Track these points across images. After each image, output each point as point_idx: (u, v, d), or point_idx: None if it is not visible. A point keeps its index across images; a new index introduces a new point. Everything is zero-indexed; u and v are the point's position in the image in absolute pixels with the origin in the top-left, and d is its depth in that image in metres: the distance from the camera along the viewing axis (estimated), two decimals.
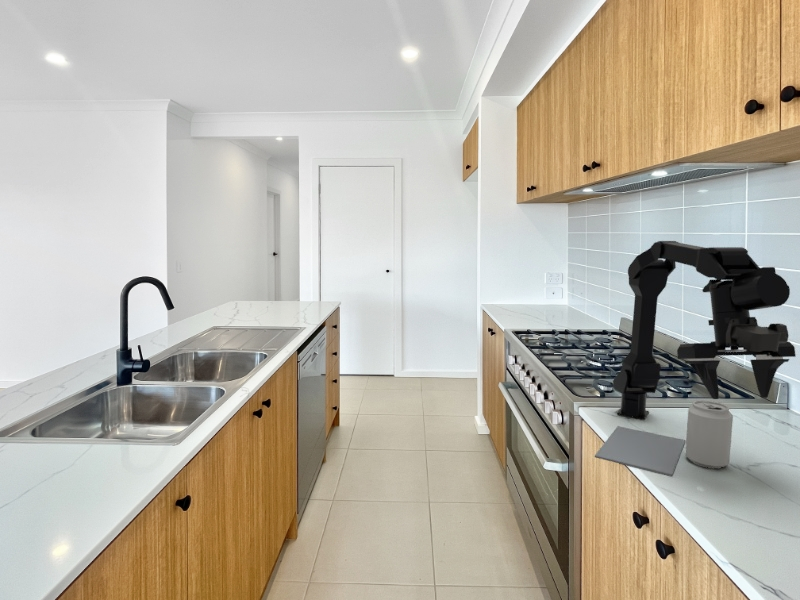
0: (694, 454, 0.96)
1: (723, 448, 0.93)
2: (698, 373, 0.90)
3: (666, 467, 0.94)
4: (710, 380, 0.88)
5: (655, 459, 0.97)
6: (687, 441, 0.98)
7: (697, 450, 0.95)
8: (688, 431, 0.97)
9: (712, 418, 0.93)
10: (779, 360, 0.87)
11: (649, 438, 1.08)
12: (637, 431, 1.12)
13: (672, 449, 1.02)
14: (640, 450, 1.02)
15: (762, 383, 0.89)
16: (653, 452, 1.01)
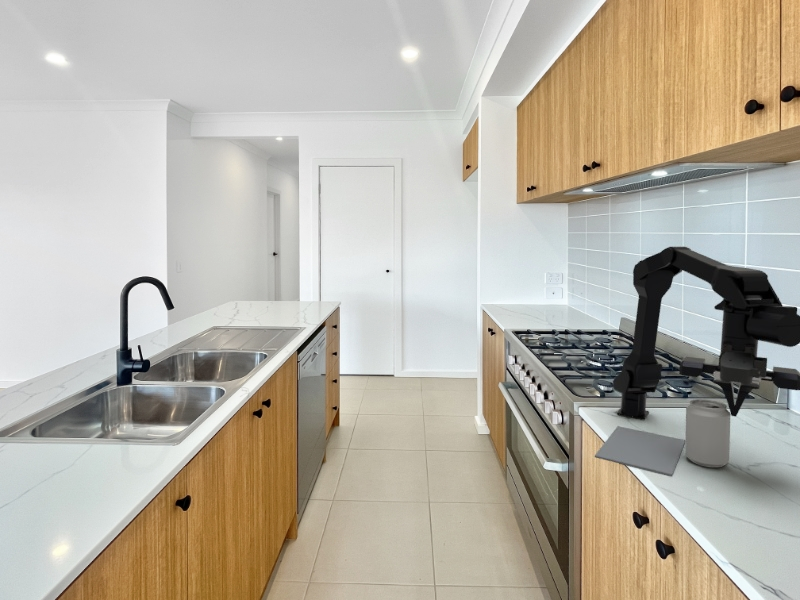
0: (693, 454, 0.96)
1: (722, 447, 0.93)
2: None
3: (666, 467, 0.94)
4: (726, 398, 0.93)
5: (655, 459, 0.97)
6: (686, 441, 0.98)
7: (696, 449, 0.95)
8: (687, 430, 0.97)
9: (709, 416, 0.93)
10: (745, 386, 0.90)
11: (649, 438, 1.08)
12: (637, 431, 1.12)
13: (672, 449, 1.02)
14: (640, 450, 1.02)
15: None
16: (653, 452, 1.01)
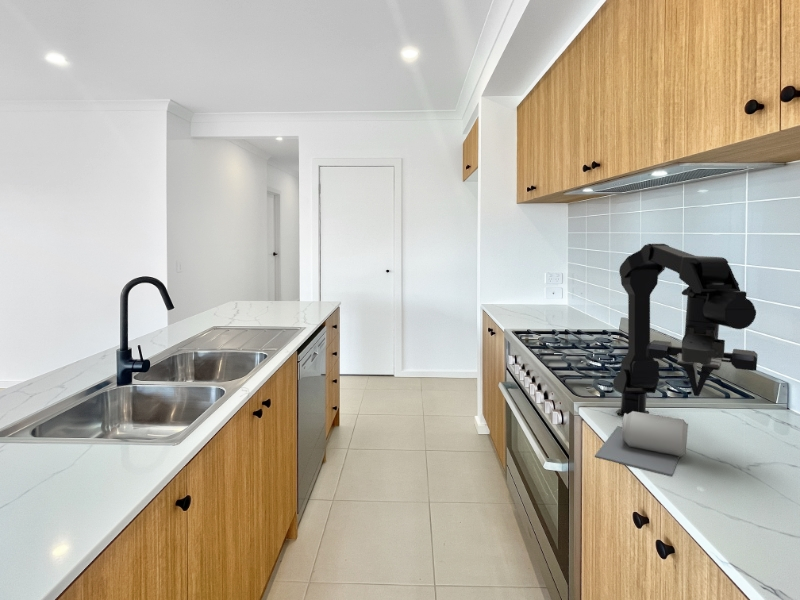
0: (673, 452, 0.97)
1: (662, 428, 0.98)
2: None
3: (666, 467, 0.94)
4: None
5: (655, 459, 0.97)
6: (663, 452, 1.00)
7: (667, 449, 0.98)
8: (651, 450, 1.01)
9: (629, 433, 1.01)
10: (706, 367, 0.95)
11: None
12: None
13: None
14: (640, 450, 1.02)
15: None
16: (653, 452, 1.01)
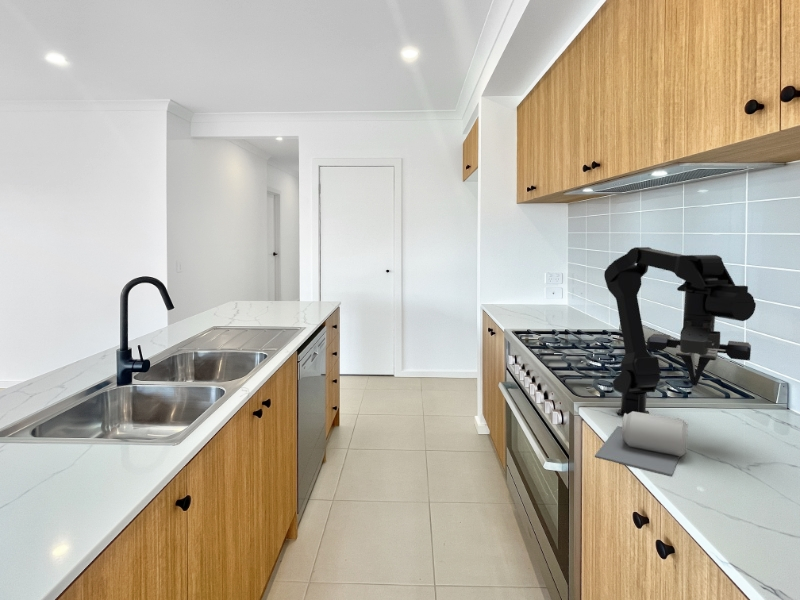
0: (673, 452, 0.97)
1: (662, 428, 0.98)
2: None
3: (666, 467, 0.94)
4: (687, 369, 1.05)
5: (655, 459, 0.97)
6: None
7: (667, 449, 0.98)
8: (651, 450, 1.01)
9: (629, 433, 1.01)
10: (703, 358, 1.01)
11: None
12: None
13: None
14: (640, 450, 1.02)
15: None
16: (653, 452, 1.01)
